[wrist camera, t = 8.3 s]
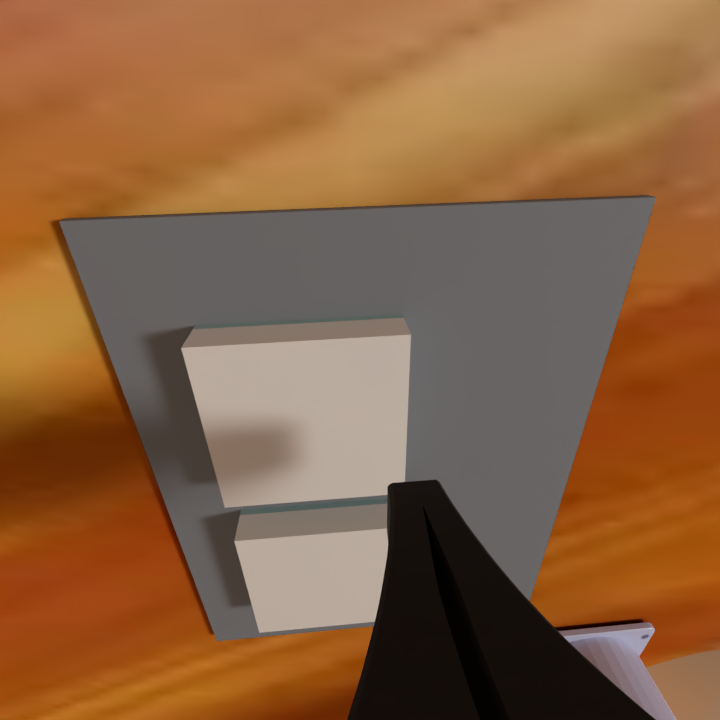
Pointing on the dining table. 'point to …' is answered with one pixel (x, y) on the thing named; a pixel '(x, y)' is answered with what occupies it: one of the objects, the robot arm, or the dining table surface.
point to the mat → (371, 298)
